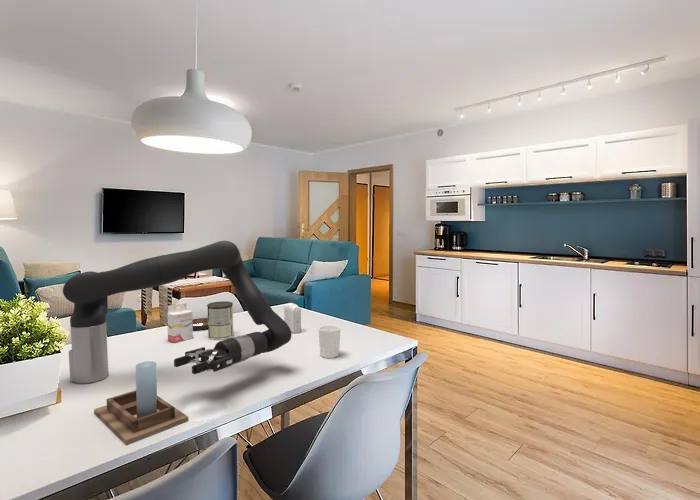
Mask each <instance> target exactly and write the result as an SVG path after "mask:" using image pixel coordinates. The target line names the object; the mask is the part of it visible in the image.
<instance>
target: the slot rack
mask: <svg viewBox="0 0 700 500" xmlns="http://www.w3.org/2000/svg"><path fill="white" fill-rule="evenodd" d="M93 413H94V415H96V416H97V417H98V418H99V419H100V420H101V421H102V422H103V423H104V424H105V425H106V427H108V429H110V430H111V432H113V433H114V434H115V435H116V436H117V437H118V438H119V439H120V440H121V441H122V442H123V443H124V444H125V445H126V446H128V445H130V444H134V443H135V442H138V441H140V440H143V439H146V438H148V437H151V436H153V435H155V434H158V433H160V432H163V431H165V430H169V429H170V428H173V427H176V426H178V425H181V424H183V423H186V422H188V421H190V420H189V416H188V415H186V414H185V413H184V412H182V411H181V410H180V409H178V408H177V407H175V406H173V405H172V404H171V403H169V402H168V401H166V400H165V399H163V398H162V397H160V396H158V395H157V412H155V413H152V414H149V415H147V416H144V417H141V418H138V419H137V399H136V389H134V390H131V391H128V392H125V393H122V394H119V395H115V396H112V397H109V398H106V405H103V406H101V407H97V408H94V409H93Z"/></svg>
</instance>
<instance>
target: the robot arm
mask: <svg viewBox="0 0 700 500" xmlns="http://www.w3.org/2000/svg"><path fill="white" fill-rule="evenodd" d="M209 270H220V271H221V272H222V273H223V274H224V275H225V276H226V278H227V279H228V280H229V282H230V283H231V284H232V286H233V287H234V289H235V291H236V293H237V296H239V298H240V301H241V303H242V305H243V307H244V309H245V310H246V311H247V313H248V315H249V316H250V318H251V319H252V321H253V322H254V323H255V324H256V325H257V326H261V325H264V326H265V327H266V328H268V329H267V330H264V331H261V332H260V331H254V332H250V333H246V334H242V335H241V334H240V335H237V336H233V337H231V338H228V339H223V340H218V342H216V344H215V345H214V347H213V348H208V349H206V347H205V346H202V347H199V348H196V349H193V350H192V349H191V350H188V351H184V355H182V356H180V357H176V358H174V360H173V366H174V367H175V368H179V367H182V366H185V365H188V364H193V365H192V366H191V374H193V375H197V374H201V373H203V372H206V371H207V372H211V371H212V372H215V373H216V372H218V371H222V370H224V369H227V368H229V367H232V366H234V365H236V364H238V363H241V362H245V361H246V360H248V359H250V358H252V357H255V356H258V355H259V356H260V354H264V353H265V354H266V353H269V352H273V351H276V350H278V349H279V348H281V347H283V346H284V345H286V344H288V343H289V342H290V341H291V339H292V335H293V334H292V332H291V330H290V328H289V326H288V325H287V323H286V322H285V321H284V318H283V319H282V317H281V316H279V314H278V313H276V312H275V311H274V309H272V307H271V305H270V304H269V301H268V300H267V299H266V297H265V296H264V294H263V293H262V291H261V290H260V288H258V286H257V285H256V283H255V282H254V280H253V279H252V278H251V275H250V274H249V272H248V270H247V268H246V266H245V264H244V261H243V259H242V257H241V251H240V250H239V248H238V246H237V244H235V243H234V242H232V241H229V240H220V241H216V242H214V243H211V244H210V243H209V244H208V245H205V246H201V247H198V248H194V249H192V250H185V251H179V252H174V253H173V252H171V253H168V254H161V255H158V256H153V257H148V258H145V259H141V260H138V261H134V262H131V263H129V264H125V265H123V266H121V267H117V268H115V269H111V270H106V271H99V272H97V271H90V270H89V271H84V272H81V273H77V274H74V275H73V276H71V277H70V278H68V280H66V282H64V285H63V286H62V294H63V296H64V298H65V299H66V300H68V302H70V303H73V304H74V305H73V306H74V307H73V312H72V314H71V315H70V318H69V325H70V339H71V340H70V342H71V349H70V350H68V362H69V363H68V364H69V365H68V366H69V380H70V382H74V383H75V384H89V383H95V382H98V381H101V380H103V379H106V378H108V376H109V375H110V374H109V355H108V336H107V335H108V334H107V333H108V332H107V314H108V309H109V307H108V300H109V299H108V297H109V296H112V295H113V296H114V295H116V294H120V293H127V292H132V291H140V290H144V289H149V288H150V289H151V288H156V287H159V286H163V285H168V284H171V283H175V282H176V281H180V280H182V279H184V278H187V277H189V276H191V275H193V274H195V273H199V272H205V271H209Z"/></svg>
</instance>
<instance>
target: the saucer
mask: <svg viewBox="0 0 700 500" xmlns="http://www.w3.org/2000/svg"><path fill="white" fill-rule="evenodd" d="M197 323H198V324H199V323H203V325H202V326H193V331H202V329H204V330H208V329H207V328H208V317H202V318H201V317H200V318H194V319H193V324H197Z"/></svg>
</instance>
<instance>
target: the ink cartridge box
mask: <svg viewBox="0 0 700 500" xmlns="http://www.w3.org/2000/svg"><path fill="white" fill-rule="evenodd" d="M177 307H178V308H177ZM187 307H188V306H187V302H184V303H177V304H171V305H170V304H169V305H168V306H167V313H166V316H167V319H166V320H167V341H168V342H170V343H172V344H175V343H179V342H180V341H181V342H183V341H184V340H185V341H188V340H193V339H194V336H193V335H194V332H193V331H194V330H193V310H188V309H187ZM185 341H184V342H185Z"/></svg>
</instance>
